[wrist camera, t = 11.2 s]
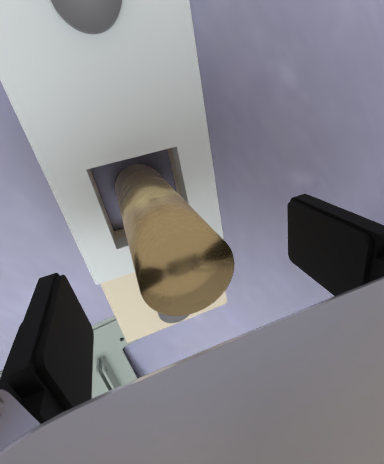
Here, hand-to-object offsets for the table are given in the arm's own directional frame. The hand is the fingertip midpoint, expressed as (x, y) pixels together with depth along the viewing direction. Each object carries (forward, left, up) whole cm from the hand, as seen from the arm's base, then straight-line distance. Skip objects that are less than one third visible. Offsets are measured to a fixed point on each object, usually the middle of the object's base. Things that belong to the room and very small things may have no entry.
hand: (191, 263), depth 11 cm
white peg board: (0, 0, -11) cm, 11 cm away
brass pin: (0, 0, -11) cm, 11 cm away
